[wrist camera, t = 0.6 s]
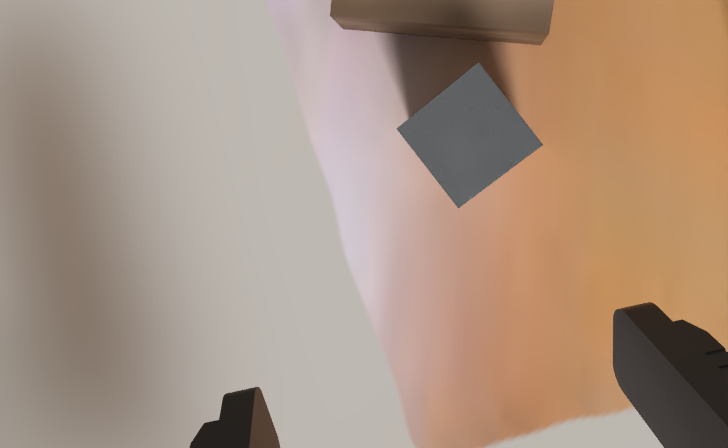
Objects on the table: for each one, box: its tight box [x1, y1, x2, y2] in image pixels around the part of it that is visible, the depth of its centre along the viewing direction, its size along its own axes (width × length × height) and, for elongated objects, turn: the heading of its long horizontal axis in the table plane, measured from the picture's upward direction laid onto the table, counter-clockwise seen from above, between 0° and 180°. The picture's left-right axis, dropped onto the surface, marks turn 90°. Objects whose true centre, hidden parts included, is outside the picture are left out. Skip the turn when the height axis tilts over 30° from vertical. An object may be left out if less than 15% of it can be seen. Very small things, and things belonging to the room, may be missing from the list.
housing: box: [397, 62, 543, 208], centre depth 36 cm, size 6×6×10 cm
